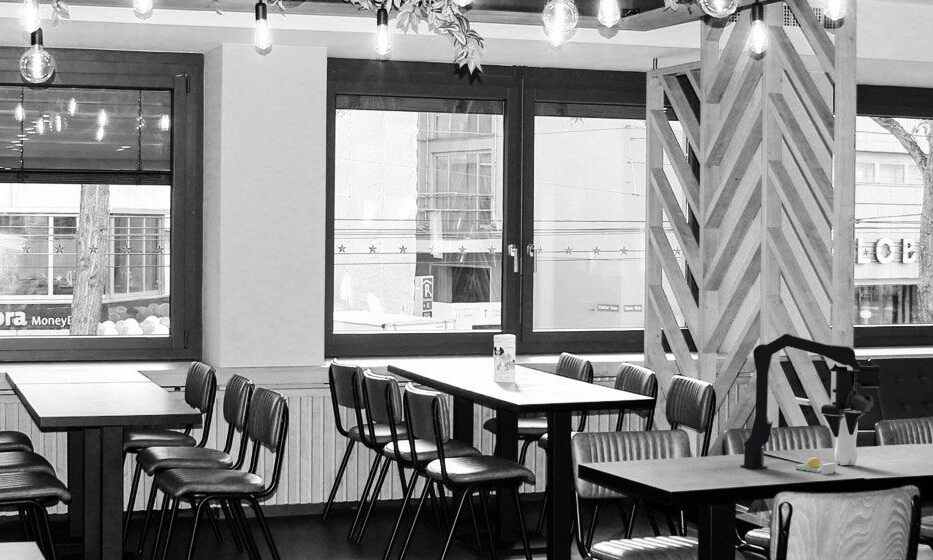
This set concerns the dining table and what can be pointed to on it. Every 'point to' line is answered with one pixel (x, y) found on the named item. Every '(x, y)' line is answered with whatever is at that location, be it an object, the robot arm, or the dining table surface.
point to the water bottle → (846, 445)
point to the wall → (828, 468)
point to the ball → (813, 462)
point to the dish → (808, 468)
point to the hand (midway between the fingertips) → (843, 435)
